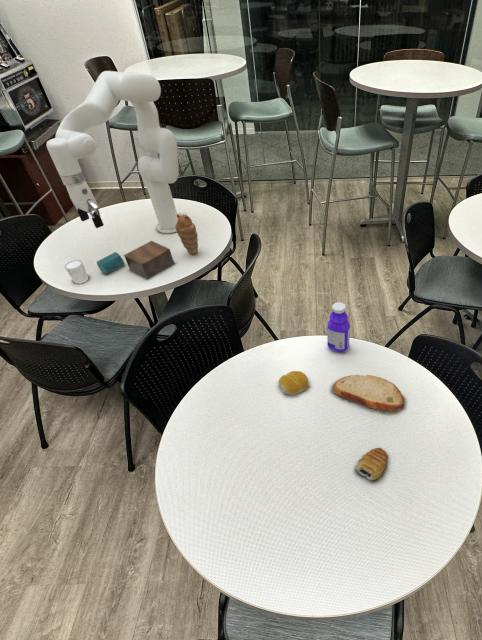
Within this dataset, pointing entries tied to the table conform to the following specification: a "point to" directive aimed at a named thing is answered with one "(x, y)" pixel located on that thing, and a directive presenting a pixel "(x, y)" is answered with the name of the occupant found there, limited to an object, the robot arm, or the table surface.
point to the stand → (149, 259)
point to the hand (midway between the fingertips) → (92, 223)
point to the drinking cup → (110, 263)
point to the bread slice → (370, 392)
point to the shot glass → (77, 271)
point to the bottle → (338, 329)
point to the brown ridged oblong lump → (187, 233)
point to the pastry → (372, 463)
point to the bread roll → (293, 382)
